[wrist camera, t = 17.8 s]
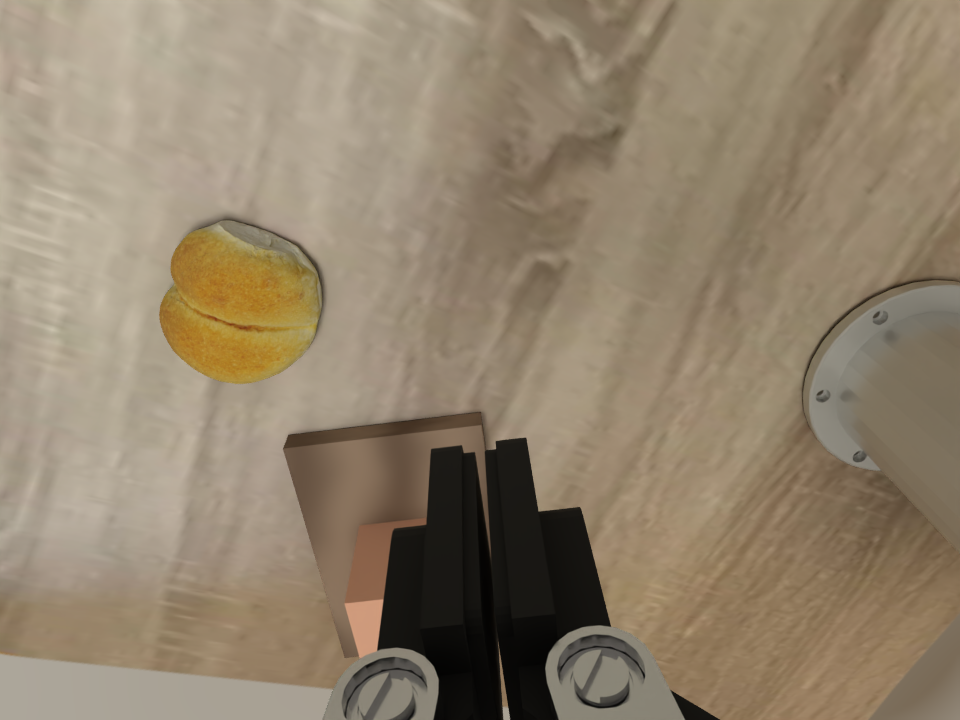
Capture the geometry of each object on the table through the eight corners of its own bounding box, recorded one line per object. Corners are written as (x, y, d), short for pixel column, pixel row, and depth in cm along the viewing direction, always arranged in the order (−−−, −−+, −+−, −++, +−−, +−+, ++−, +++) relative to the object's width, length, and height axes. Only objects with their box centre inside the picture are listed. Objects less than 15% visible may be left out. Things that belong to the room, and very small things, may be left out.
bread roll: (158, 341, 40) (129, 373, 37) (194, 199, 37) (165, 219, 33) (297, 388, 42) (281, 423, 38) (343, 257, 38) (331, 282, 35)
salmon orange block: (439, 516, 44) (437, 593, 38) (451, 577, 47) (450, 658, 41) (359, 525, 44) (344, 603, 39) (374, 585, 47) (362, 668, 41)
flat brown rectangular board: (480, 412, 43) (484, 480, 36) (510, 623, 51) (517, 708, 44) (288, 435, 43) (259, 506, 37) (347, 640, 51) (332, 728, 45)
